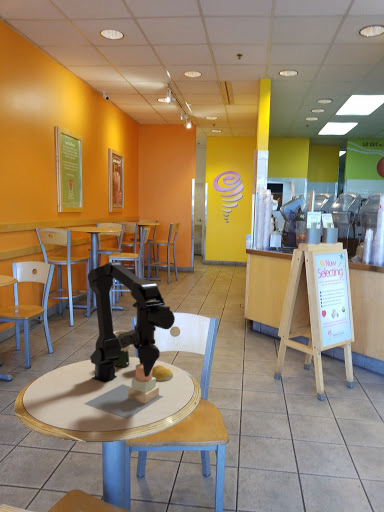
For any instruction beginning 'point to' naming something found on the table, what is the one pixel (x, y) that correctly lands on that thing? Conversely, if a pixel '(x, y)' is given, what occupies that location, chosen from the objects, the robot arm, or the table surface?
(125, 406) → the mat
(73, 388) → the table surface
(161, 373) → the bread roll
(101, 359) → the robot arm
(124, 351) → the character mug
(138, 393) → the tower base
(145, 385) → the tower top
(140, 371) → the peach gumdrop
